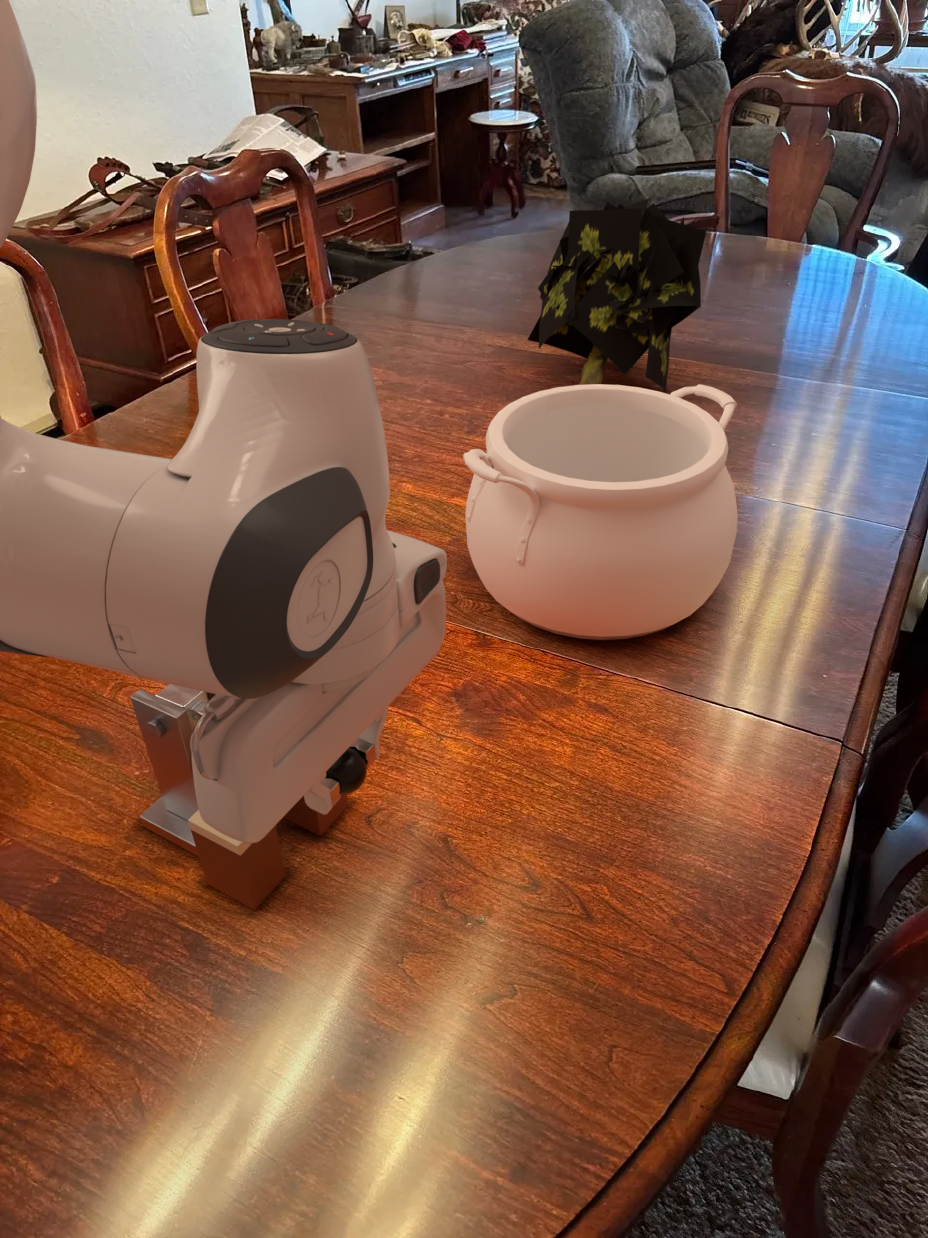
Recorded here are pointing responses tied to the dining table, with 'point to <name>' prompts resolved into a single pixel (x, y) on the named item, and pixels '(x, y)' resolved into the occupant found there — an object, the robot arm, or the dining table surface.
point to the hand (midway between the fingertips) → (344, 781)
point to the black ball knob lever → (344, 771)
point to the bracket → (168, 767)
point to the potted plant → (620, 288)
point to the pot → (603, 508)
